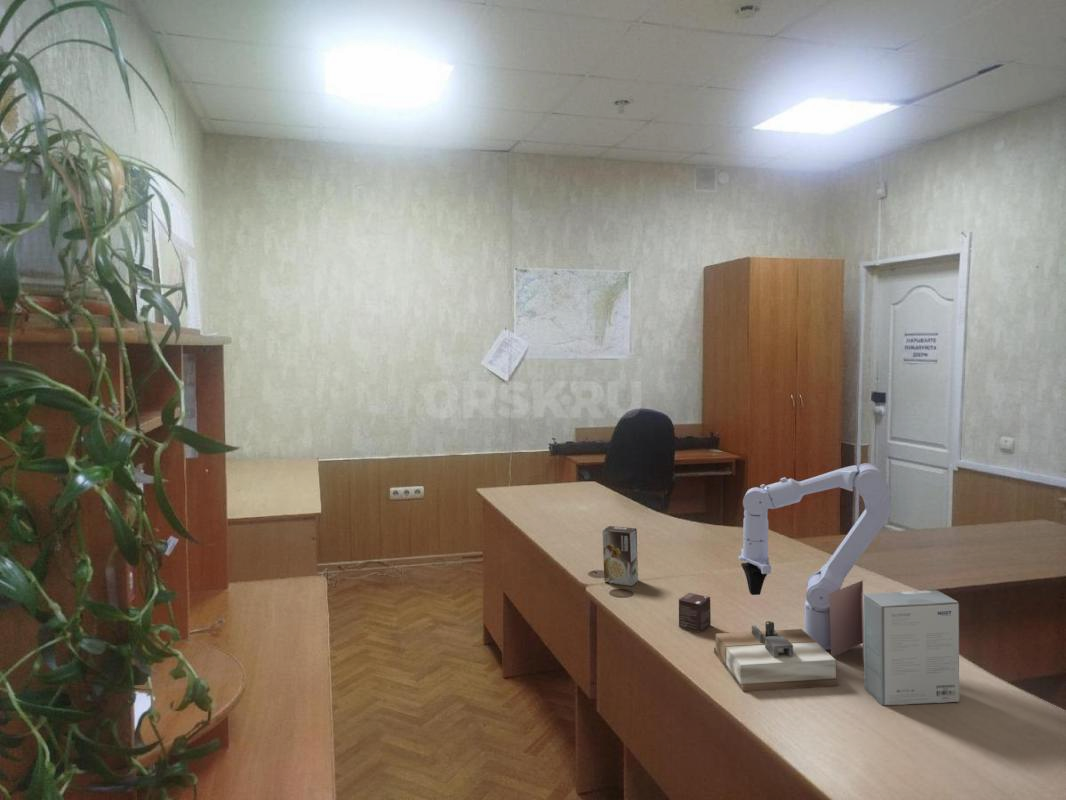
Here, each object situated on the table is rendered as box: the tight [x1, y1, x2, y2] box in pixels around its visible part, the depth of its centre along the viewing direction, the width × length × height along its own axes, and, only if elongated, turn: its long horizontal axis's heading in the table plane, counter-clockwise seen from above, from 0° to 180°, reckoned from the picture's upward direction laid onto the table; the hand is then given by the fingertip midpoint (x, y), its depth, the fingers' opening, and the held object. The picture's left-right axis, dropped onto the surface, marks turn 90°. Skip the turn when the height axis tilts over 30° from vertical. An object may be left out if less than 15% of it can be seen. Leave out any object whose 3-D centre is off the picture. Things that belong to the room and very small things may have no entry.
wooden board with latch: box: [713, 625, 839, 692], centre depth 156 cm, size 19×20×8 cm
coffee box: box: [602, 525, 639, 587], centre depth 216 cm, size 9×6×16 cm
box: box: [678, 592, 712, 633], centre depth 180 cm, size 6×6×7 cm
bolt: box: [765, 621, 784, 653], centre depth 155 cm, size 7×2×4 cm, turn 3°
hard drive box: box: [863, 589, 960, 706], centre depth 142 cm, size 16×8×20 cm, turn 92°
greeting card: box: [829, 579, 865, 665], centre depth 160 cm, size 11×7×15 cm, turn 119°
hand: (754, 593), depth 173 cm, fingers closed
